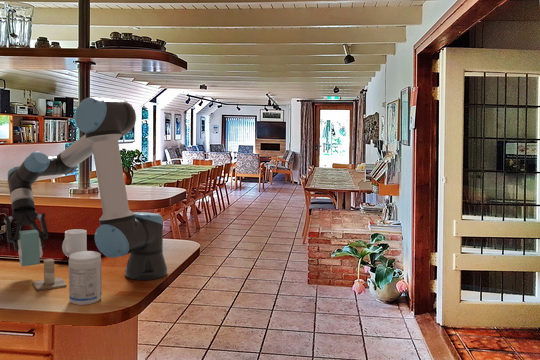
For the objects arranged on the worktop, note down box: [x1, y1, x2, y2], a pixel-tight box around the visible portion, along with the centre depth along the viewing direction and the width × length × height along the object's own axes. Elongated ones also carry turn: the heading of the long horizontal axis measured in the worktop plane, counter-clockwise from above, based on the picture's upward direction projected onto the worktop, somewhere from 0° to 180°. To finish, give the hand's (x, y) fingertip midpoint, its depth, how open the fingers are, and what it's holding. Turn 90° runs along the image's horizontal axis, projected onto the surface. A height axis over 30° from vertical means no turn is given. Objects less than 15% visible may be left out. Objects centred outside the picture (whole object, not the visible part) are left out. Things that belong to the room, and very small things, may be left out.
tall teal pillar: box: [18, 229, 41, 267], centre depth 165 cm, size 6×6×11 cm
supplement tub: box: [68, 250, 103, 306], centre depth 146 cm, size 10×10×15 cm
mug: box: [61, 228, 88, 258], centre depth 193 cm, size 12×8×10 cm
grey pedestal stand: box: [32, 258, 67, 292], centre depth 159 cm, size 9×9×9 cm
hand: (31, 256), depth 163 cm, fingers closed on tall teal pillar, 6 cm apart
